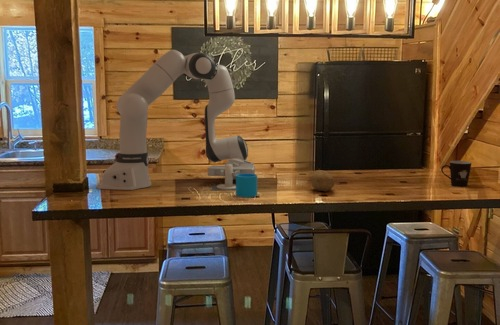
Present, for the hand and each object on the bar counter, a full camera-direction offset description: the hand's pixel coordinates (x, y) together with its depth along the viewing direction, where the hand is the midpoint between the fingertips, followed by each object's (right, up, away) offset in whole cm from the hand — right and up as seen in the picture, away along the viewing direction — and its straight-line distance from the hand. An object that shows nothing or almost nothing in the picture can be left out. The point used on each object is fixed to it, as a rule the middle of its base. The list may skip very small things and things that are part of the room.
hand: (228, 174), depth 217 cm
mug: (+7, -8, -11) cm, 15 cm away
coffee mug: (+97, -5, +9) cm, 98 cm away
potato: (+38, -7, -3) cm, 39 cm away
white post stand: (0, -5, +2) cm, 6 cm away
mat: (0, -6, +2) cm, 6 cm away
